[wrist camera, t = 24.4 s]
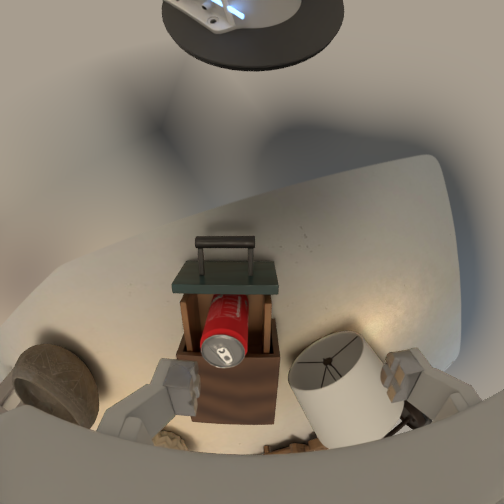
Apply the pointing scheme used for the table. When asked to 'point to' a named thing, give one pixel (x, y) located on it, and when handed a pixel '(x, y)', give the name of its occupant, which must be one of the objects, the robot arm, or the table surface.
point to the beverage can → (226, 331)
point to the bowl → (56, 384)
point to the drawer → (226, 290)
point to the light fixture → (347, 392)
